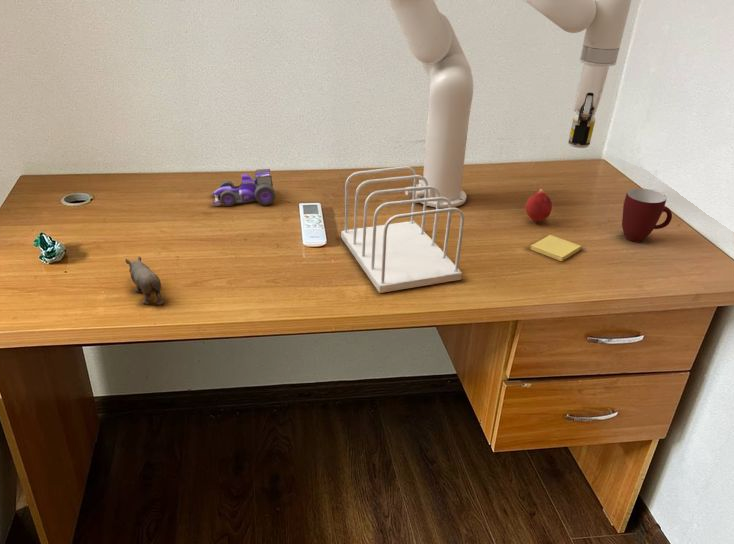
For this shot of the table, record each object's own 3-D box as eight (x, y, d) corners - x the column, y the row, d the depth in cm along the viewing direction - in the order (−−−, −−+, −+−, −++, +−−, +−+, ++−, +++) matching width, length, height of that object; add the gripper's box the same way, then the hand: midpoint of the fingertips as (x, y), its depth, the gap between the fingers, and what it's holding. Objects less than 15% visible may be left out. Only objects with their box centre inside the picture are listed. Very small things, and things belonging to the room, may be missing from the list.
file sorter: (340, 238, 147) (341, 170, 138) (413, 228, 151) (418, 161, 142) (379, 293, 127) (382, 218, 118) (461, 281, 132) (471, 207, 122)
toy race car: (212, 194, 167) (210, 168, 163) (272, 190, 169) (271, 165, 165) (213, 209, 159) (210, 183, 156) (275, 205, 162) (274, 179, 158)
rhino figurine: (143, 273, 134) (138, 246, 130) (168, 303, 124) (163, 275, 121) (123, 278, 132) (117, 251, 128) (146, 309, 122) (141, 281, 119)
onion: (549, 219, 156) (556, 186, 151) (547, 229, 151) (554, 195, 147) (524, 215, 157) (530, 183, 153) (521, 225, 153) (527, 192, 148)
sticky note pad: (561, 261, 138) (562, 257, 138) (530, 249, 143) (530, 245, 142) (580, 250, 143) (581, 245, 142) (549, 238, 147) (549, 234, 147)
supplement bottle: (590, 143, 155) (599, 106, 150) (587, 149, 151) (596, 112, 146) (569, 140, 156) (577, 103, 151) (566, 146, 153) (574, 109, 148)
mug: (654, 229, 151) (667, 187, 145) (671, 245, 145) (685, 202, 139) (609, 230, 151) (620, 188, 145) (623, 246, 144) (635, 203, 138)
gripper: (583, 46, 150) (565, 127, 161) (578, 61, 137) (559, 149, 147) (618, 49, 148) (597, 131, 159) (616, 65, 135) (595, 153, 145)
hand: (579, 139), depth 153 cm, fingers closed on supplement bottle, 4 cm apart
